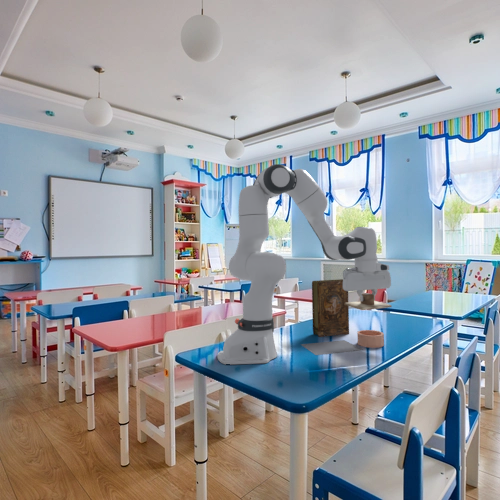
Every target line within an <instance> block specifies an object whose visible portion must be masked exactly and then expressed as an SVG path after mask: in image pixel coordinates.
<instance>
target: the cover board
mask: <svg viewBox="0 0 500 500" xmlns="http://www.w3.org/2000/svg"><path fill="white" fill-rule="evenodd" d="M362 295H363V297H365V301H360V300H359V301H348V302H347V303H345V305H348V306H349V307H351V308H354V309H357V310H360V311H366V310H367V311H368V310H377V309H386V308H387V309H388V308H389V309H390V308H392V305H391V304H388V303H385V302H380V301H377V300H374V295H373V294H372V293H368V292H364V293H362Z"/></svg>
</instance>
